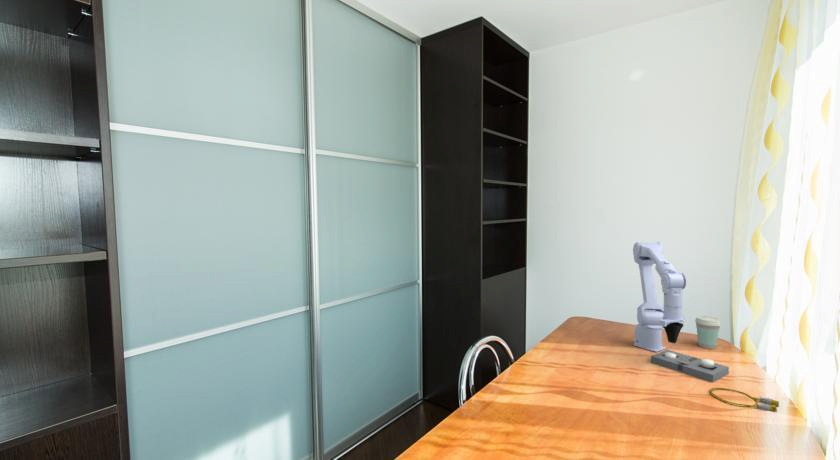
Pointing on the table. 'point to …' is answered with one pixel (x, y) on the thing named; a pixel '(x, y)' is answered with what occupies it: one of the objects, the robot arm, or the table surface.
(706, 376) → the switch panel
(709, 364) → the button
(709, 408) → the table surface
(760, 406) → the extension cord
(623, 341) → the table surface
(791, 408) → the table surface
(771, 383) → the table surface
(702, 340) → the coffee cup
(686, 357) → the slider tab
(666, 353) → the button
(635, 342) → the robot arm
